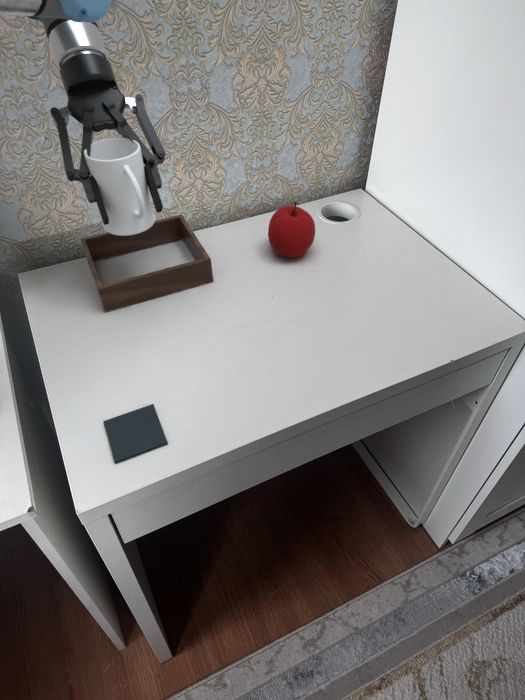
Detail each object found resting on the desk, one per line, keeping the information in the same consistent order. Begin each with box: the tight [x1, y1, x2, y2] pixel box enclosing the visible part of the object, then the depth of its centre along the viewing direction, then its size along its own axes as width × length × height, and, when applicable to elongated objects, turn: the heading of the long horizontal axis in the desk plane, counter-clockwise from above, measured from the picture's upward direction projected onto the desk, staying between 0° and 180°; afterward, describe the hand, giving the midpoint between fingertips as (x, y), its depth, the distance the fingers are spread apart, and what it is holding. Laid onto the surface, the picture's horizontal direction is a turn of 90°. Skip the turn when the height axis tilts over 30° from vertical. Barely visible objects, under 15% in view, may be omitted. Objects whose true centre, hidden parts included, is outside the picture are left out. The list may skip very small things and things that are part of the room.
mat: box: [102, 403, 169, 465], centre depth 64 cm, size 7×7×1 cm
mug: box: [84, 137, 156, 236], centre depth 73 cm, size 12×8×12 cm
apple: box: [267, 201, 316, 258], centre depth 90 cm, size 9×9×10 cm
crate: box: [79, 214, 214, 313], centre depth 88 cm, size 16×20×5 cm
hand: (133, 215), depth 72 cm, fingers closed on mug, 7 cm apart
